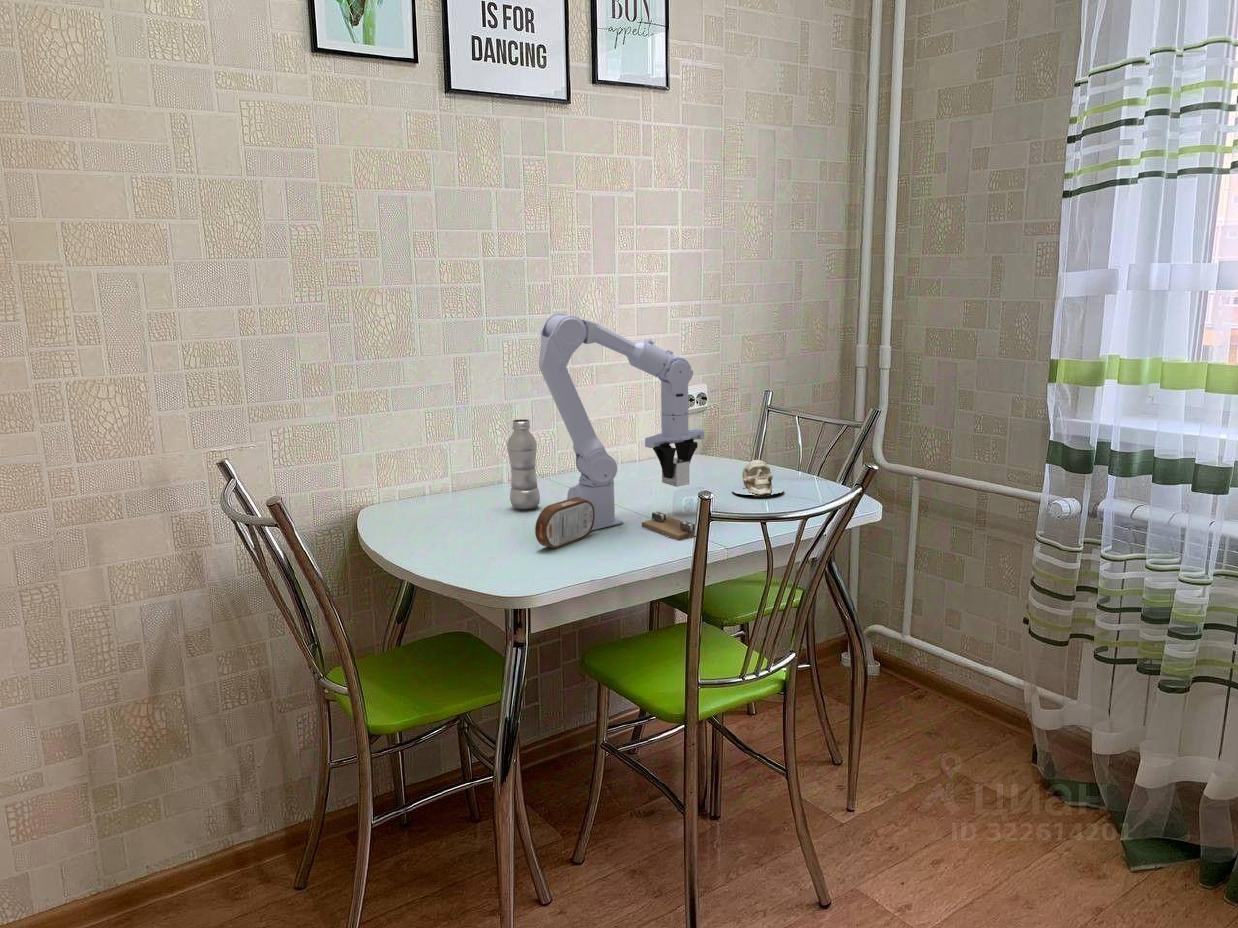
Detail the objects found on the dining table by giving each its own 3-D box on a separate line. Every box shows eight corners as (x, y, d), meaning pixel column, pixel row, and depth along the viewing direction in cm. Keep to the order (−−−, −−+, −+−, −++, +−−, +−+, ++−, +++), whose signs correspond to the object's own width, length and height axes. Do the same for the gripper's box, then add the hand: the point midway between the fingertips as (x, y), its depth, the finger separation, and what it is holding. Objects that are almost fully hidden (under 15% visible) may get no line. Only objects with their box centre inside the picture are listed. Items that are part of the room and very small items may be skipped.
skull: (781, 501, 207) (781, 467, 206) (728, 498, 211) (728, 465, 209) (786, 488, 218) (787, 456, 217) (736, 486, 222) (736, 454, 220)
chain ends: (689, 532, 181) (689, 525, 181) (652, 519, 191) (651, 512, 191) (694, 531, 182) (694, 524, 182) (657, 518, 192) (657, 511, 192)
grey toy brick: (676, 486, 194) (676, 461, 193) (662, 482, 198) (661, 457, 197) (689, 484, 196) (689, 459, 195) (674, 479, 200) (674, 455, 199)
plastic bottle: (535, 513, 202) (531, 423, 197) (506, 512, 203) (501, 423, 199) (543, 505, 208) (540, 418, 204) (515, 504, 209) (510, 417, 205)
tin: (586, 532, 187) (585, 492, 185) (598, 534, 185) (597, 494, 184) (534, 551, 176) (532, 508, 174) (546, 554, 174) (544, 511, 172)
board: (678, 540, 180) (678, 535, 180) (641, 526, 190) (641, 522, 190) (705, 533, 184) (705, 528, 184) (668, 520, 194) (668, 516, 193)
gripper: (659, 420, 186) (660, 485, 189) (713, 411, 195) (713, 474, 198) (638, 415, 192) (639, 478, 195) (692, 407, 200) (692, 468, 203)
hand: (675, 476), depth 197 cm, fingers closed on grey toy brick, 3 cm apart
